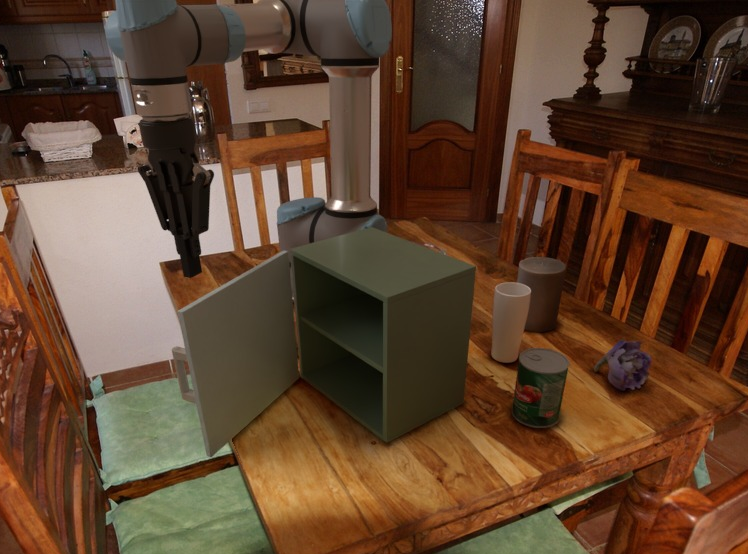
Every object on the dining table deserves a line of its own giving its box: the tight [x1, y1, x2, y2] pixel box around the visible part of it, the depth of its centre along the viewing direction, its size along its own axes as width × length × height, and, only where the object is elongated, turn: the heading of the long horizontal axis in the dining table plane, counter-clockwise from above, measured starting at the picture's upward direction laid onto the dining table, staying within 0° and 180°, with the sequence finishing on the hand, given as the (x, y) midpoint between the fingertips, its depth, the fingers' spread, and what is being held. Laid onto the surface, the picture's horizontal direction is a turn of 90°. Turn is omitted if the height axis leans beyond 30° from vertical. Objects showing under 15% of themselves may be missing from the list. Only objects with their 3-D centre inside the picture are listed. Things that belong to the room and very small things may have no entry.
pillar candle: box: [516, 256, 567, 333], centre depth 125 cm, size 10×10×15 cm
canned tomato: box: [511, 347, 570, 429], centre depth 96 cm, size 8×8×11 cm
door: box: [171, 250, 300, 458], centre depth 96 cm, size 6×26×26 cm, turn 152°
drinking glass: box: [490, 281, 531, 364], centre depth 112 cm, size 7×7×15 cm
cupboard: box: [290, 227, 477, 444], centre depth 100 cm, size 18×26×26 cm
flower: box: [593, 339, 652, 391], centre depth 105 cm, size 9×9×10 cm
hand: (193, 274), depth 92 cm, fingers closed
